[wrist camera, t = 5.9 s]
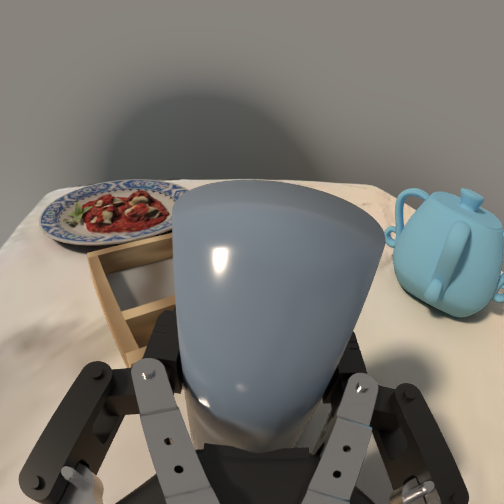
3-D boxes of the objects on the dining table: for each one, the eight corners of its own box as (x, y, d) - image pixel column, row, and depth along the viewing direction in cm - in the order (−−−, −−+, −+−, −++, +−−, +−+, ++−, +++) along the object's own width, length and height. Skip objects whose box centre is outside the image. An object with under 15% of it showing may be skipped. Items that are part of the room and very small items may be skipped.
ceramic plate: (192, 188, 57) (192, 173, 55) (208, 254, 36) (208, 232, 34) (68, 194, 50) (67, 180, 49) (16, 263, 29) (10, 242, 27)
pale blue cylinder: (251, 391, 19) (286, 175, 12) (307, 450, 15) (417, 235, 8) (175, 428, 16) (142, 192, 9) (228, 501, 12) (266, 308, 5)
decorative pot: (502, 332, 25) (551, 236, 19) (403, 328, 26) (456, 201, 20) (455, 265, 40) (483, 187, 33) (371, 250, 40) (395, 159, 34)
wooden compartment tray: (246, 241, 39) (249, 216, 37) (334, 304, 29) (343, 276, 27) (92, 282, 28) (86, 253, 26) (140, 394, 18) (130, 364, 16)
